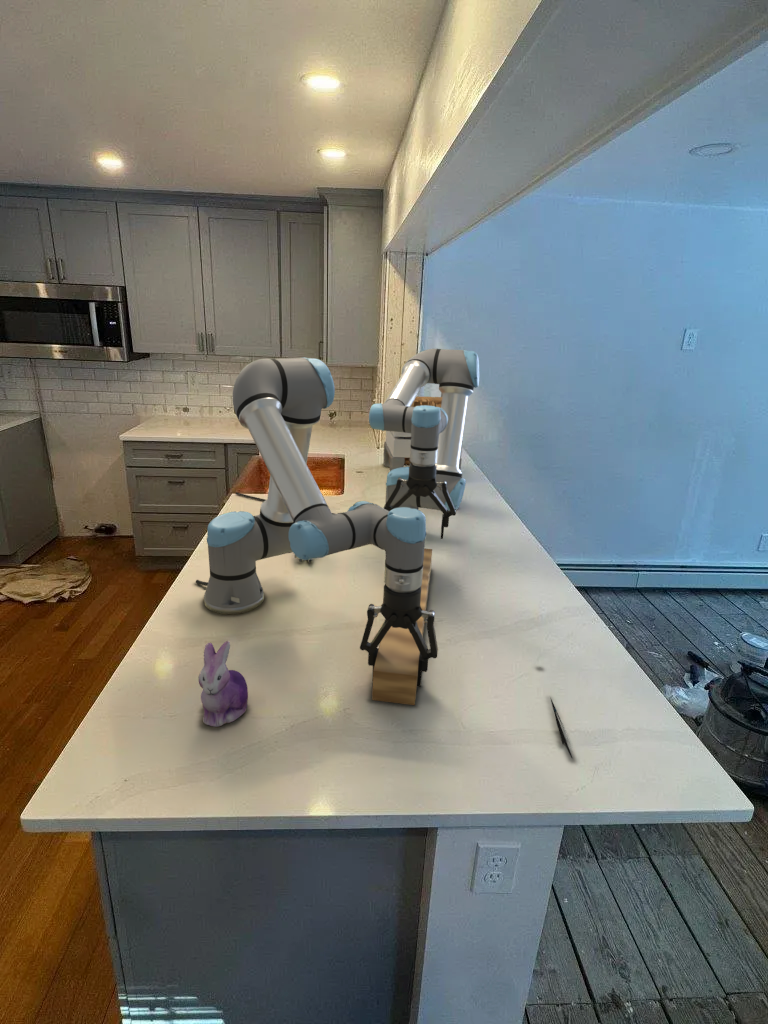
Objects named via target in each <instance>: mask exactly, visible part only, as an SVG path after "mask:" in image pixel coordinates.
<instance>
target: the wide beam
mask: <svg viewBox="0 0 768 1024" xmlns="http://www.w3.org/2000/svg"><path fill="white" fill-rule="evenodd" d="M432 562H433V548H427V547H426V548H425V547H424V559H423V575H422V585H421V601H420V606H421V608H422V610H423V611H427V606H428V605H427V604H428V597H429V589H430V582H431V572H432ZM416 622H417V625H418V628H419V630H420V632H421V634H422V636H423V637H424V631H425V624H426V623H425V622H424V619H423V617H420V618H419V619H418V620H417V621H416ZM378 648H379V649H378V654H377V658H376V662H375V666H374V670H373V669H372V678H373V681H372V691H371V692H372V693H371V700H372V701H375V702H377V701H378V702H385V703H391V704H392V703H394V704H400V705H409V706H415V705H416V698H417V690H418V689H417V688H418V687H417V678H418V665H419V655H420V651H419V649H418V647H417V645H416V643H415V641H414V638H413V636H412V634H411V633H410V632H409V629H408V628H407V629H403V628H400V627H398V628H393V627H392V626H391V628H390V629H389V631H387V633H386V635H385V636H384V638H383V639H382V641H381V642H380V644H379V645H378Z"/></svg>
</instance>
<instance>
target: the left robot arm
mask: <svg viewBox="0 0 768 1024" xmlns="http://www.w3.org/2000/svg"><path fill="white" fill-rule="evenodd" d="M335 391H336V389H335V382H334V378H333V376H332V372H331V370H330V368H329V367H328V366H327V364H326V363H325V362H323V360H321V359H319V358H313V357H312V358H311V357H304V356H301V357H293V358H292V357H290V358H289V357H288V358H287V357H286V358H259V359H255V360H253V361H252V362H249V363H248V364H246V365H245V366H244V367H243V368H242V369H241V370H240V372H239V373H238V375H237V377H236V379H235V381H234V385H233V389H232V406H233V410H234V413H235V415H236V417H237V420H238V422H239V424H240V426H242V427H243V428H245V429H248V431H249V433H250V435H251V437H252V440H253V441H254V444H255V446H256V448H257V450H258V452H259V454H260V457H261V458H262V460H263V463H264V465H265V467H266V468H267V471H268V473H269V474H270V475H269V482H268V491H267V499H265V501H262V503H261V504H260V509H259V514H257V515H253V514H252V513H251V512H249V511H241V510H240V511H229V512H226V513H222V514H219V515H217V516H215V517H214V518H213V519H212V520H210V522H209V523H208V525H207V529H206V530H207V532H206V534H207V536H206V543H207V551H208V552H207V553H208V565H209V567H208V568H209V577H208V581H202V580H199V579H195V583H196V584H198V585H201V586H206V589H205V592H204V595H203V599H204V600H203V601H204V606H205V607H206V608H207V609H208V610H209V611H211V612H213V613H217V614H222V615H237V614H244V613H247V612H250V611H252V610H254V609H257V608H258V607H259V606H261V605H262V604H263V602H264V600H265V594H264V592H265V591H264V588H263V586H262V583H261V581H260V578H259V576H258V574H257V567H256V565H257V564H256V563H257V562H258V561H260V560H265V559H269V558H274V557H277V556H282V555H285V554H292V553H293V554H294V557H295V556H296V557H298V558H297V559H299V560H300V559H301V560H302V561H309V560H310V559H311V560H315V559H316V560H317V559H322V558H325V557H326V556H331V555H333V554H337V553H341V552H344V551H350V550H354V549H357V548H361V547H365V546H369V545H373V546H375V547H377V548H378V549H379V550H383V551H384V552H385V555H384V556H385V559H384V575H383V577H384V578H383V579H384V580H383V583H384V585H383V596H382V600H383V601H382V603H381V605H376V606H375V604H373V603H369V605H368V607H367V610H366V615H367V620H366V624H365V628H364V632H363V635H362V639H361V641H360V644H359V650H360V651H366V652H367V653H368V655H367V664H368V666H369V667H370V666H371V667H372V671H373V670H374V666H375V662H376V658H377V654H378V649H379V645H380V642H381V641H382V639H383V638H384V636H385V635H386V633H387V631H389V629H390V628H391V626H392V627H393V628H398V627H400V628H403V629H407V628H408V629H409V632H410V633H411V634H412V636H413V638H414V641H415V643H416V645H417V647H418V649H419V651H420V655H419V665H418V678H417V688H421V684H422V676H423V672H425V673H426V672H427V671H428V670H429V669H428V668H429V667H428V666H429V660H430V659H437V658H438V652H439V649H438V648H439V647H438V642H437V641H438V640H437V636H436V635H437V634H436V629H435V616H436V611H435V610H434V609H430V610H429V611H427V610H426V611H423V610H422V608H421V606H420V601H421V585H422V575H423V559H424V548H425V545H426V538H427V519H426V515H425V513H423V511H421V510H419V509H418V510H417V509H411V508H408V507H400V508H395V509H392V510H391V511H388V510H386V509H384V507H382V506H380V505H378V504H376V503H373V502H369V501H366V500H361V501H357V502H355V503H354V504H353V505H351V506H349V508H348V509H347V511H343V512H338V513H335V514H332V513H333V512H332V511H331V508H330V507H329V505H328V503H327V501H326V500H325V497H324V495H323V494H322V491H321V490H320V488H319V486H318V483H317V482H316V480H315V477H314V476H313V474H312V472H311V470H310V468H309V466H308V465H307V464H308V457H309V452H310V443H311V437H312V432H313V431H312V430H313V426H314V425H316V424H318V423H319V421H320V420H321V416H322V410H325V409H328V408H329V407H331V405H332V404H333V403H334V400H335V395H336V394H335V393H336V392H335ZM379 613H380V614H381V615H382V617H383V618H384V621H383V623H382V625H381V626H380V627H379V629H378V631H377V632H376V634H375V635H374V637H373V638H372V641H370V642H369V639H370V635H371V632H372V628H373V625H374V621H375V619H376V618H377V617H378V616H379ZM420 617H423V619H424V622H425V623H424V624H426V632H427V637H428V643H429V648H428V645H427V643H426V641H425V639H424V635H423V636H422V634H421V632H420V630H419V628H418V625H417V622H416V621H417V620H418V619H419V618H420ZM372 682H373V677H372Z"/></svg>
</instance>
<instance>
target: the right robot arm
mask: <svg viewBox="0 0 768 1024" xmlns="http://www.w3.org/2000/svg"><path fill="white" fill-rule="evenodd" d="M400 373H401V375H400V377H399V379H398V380H397V381H396V383H395V385H394V387H393V388H392V390H391V391H390V393H389V395H388V396H387V398H386V400H385V401H384V402H383V403H382V402H380V403H373V404H372V405H371V407H370V409H369V415H368V422H369V426H370V428H371V429H373V430H378V431H382V432H384V431H385V432H386V431H394V432H404V433H411V447H410V462H411V463H410V464H409V466H404V467H401V468H396V469H393V470H391V471H390V470H389V472H388V473H387V475H386V482H385V504H384V507H383V508H384V509H386V510H388V511H391V510H392V509H395V508H400V507H408V508H411V509H417V510H419V508H420V509H428V510H434V511H435V510H436V511H441V513H442V515H441V526H440V527H441V528H440V540H444V533H445V528H448V527H449V523H450V517H451V516H453V517H454V516H456V515H457V510H458V509H459V508H460V506H461V503H462V500H463V497H464V493H465V489H466V483H467V480H466V479H465V478H464V477H463V472H462V470H461V471H460V469H459V460H460V452H461V445H462V446H463V443H462V441H463V438H464V432H463V430H464V429H465V421H466V414H467V407H468V406H467V405H468V400H469V399H468V398H469V397H470V396H472V394H474V389H475V388H478V387H480V359H479V355H478V353H477V352H476V351H473V350H466V349H450V348H449V349H447V348H446V349H444V348H428V349H424V350H421V351H420V352H418V353H416V354H414V355H413V356H412V357H410V358H409V359H408V360H406V362H405V363H404V365H403V366H402V368H401V372H400ZM427 384H431V385H432V384H433V385H438V391H440V393H442V403H441V408H440V407H435V406H428V405H421V406H416V407H411V405H412V403H413V401H414V400H415V398H416V397H417V396H418V394H419V392H420V391H421V389H422V388H423V387H425V386H426V385H427ZM464 431H465V430H464ZM462 437H463V438H462ZM235 495H238V496H241V497H246V498H249V499H254V500H257V501H262V502H264V501H265V500H266V499H265V498H260V497H256V496H252V495H248V494H244V493H241V492H235ZM332 514H336V513H334V512H332Z"/></svg>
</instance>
